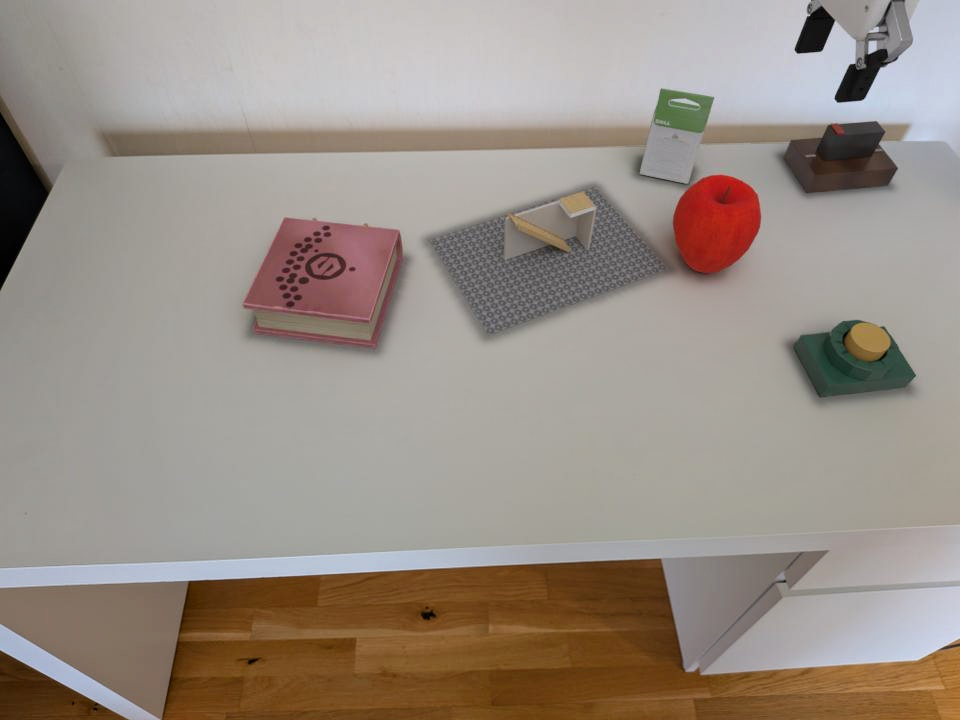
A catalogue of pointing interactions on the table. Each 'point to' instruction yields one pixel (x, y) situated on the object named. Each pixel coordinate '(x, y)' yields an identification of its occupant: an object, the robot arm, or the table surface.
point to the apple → (716, 222)
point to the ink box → (675, 135)
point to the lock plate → (837, 168)
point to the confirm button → (867, 342)
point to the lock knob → (850, 140)
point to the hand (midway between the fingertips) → (827, 75)
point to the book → (326, 282)
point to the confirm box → (850, 364)
